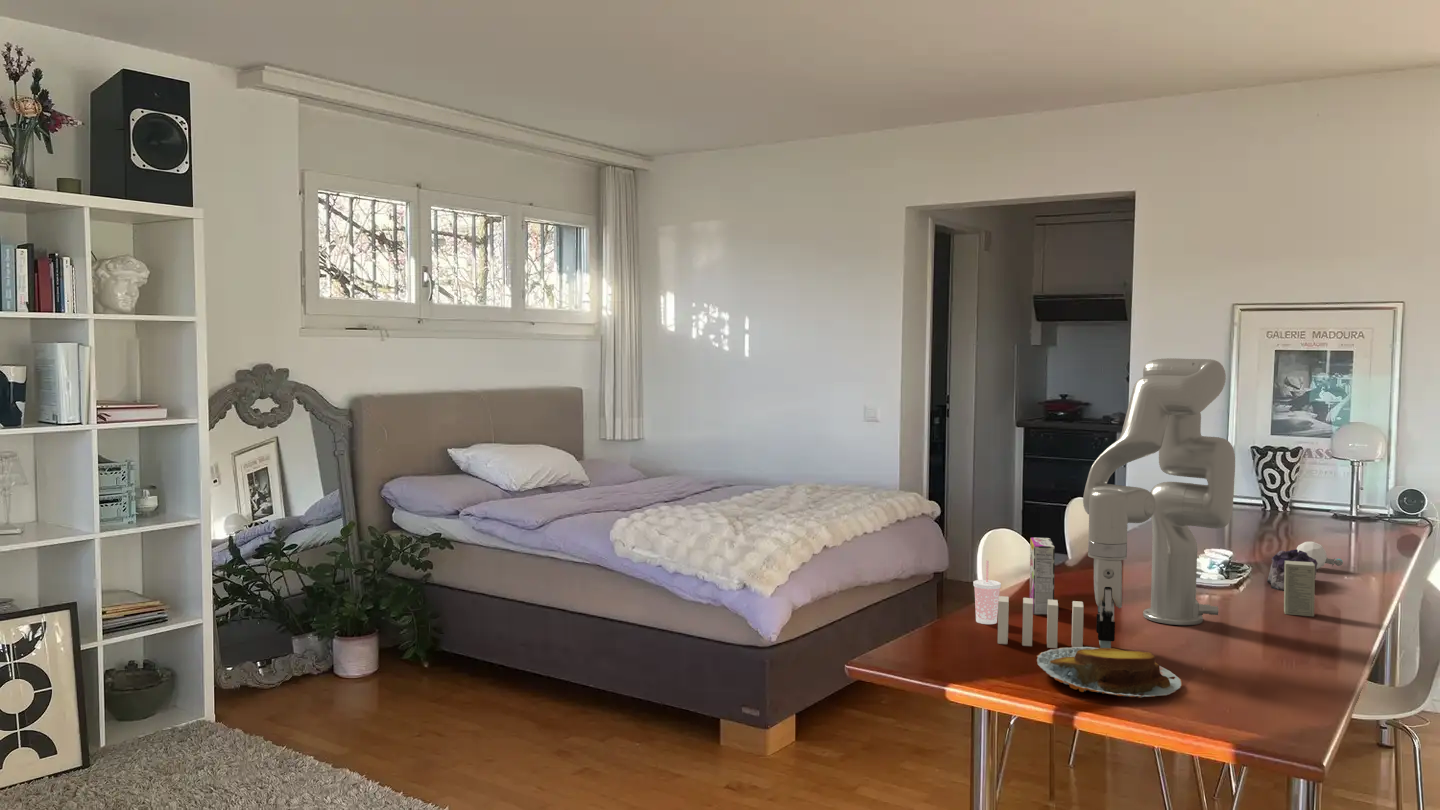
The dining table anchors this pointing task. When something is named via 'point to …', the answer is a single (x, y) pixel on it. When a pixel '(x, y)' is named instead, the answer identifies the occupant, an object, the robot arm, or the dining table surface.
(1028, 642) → the domino
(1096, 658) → the food on plate
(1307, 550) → the perfume bottle
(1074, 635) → the domino
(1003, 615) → the domino
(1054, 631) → the domino
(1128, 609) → the dining table surface
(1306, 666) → the dining table surface
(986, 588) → the beverage cup
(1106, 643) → the domino
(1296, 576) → the skincare box
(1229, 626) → the dining table surface
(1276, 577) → the geode
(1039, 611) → the candy bar box
